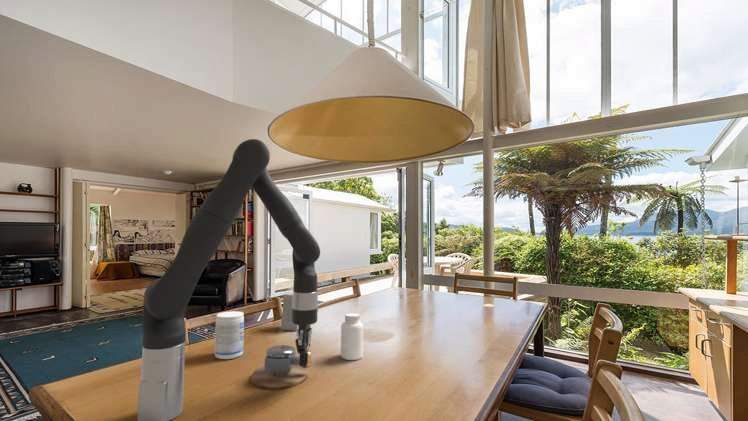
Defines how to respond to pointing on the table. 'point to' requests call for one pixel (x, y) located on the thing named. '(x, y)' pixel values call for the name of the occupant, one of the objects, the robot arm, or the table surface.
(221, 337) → the supplement tub
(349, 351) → the pill bottle
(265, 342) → the table surface
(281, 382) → the post base
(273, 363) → the coupling
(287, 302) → the skincare box
